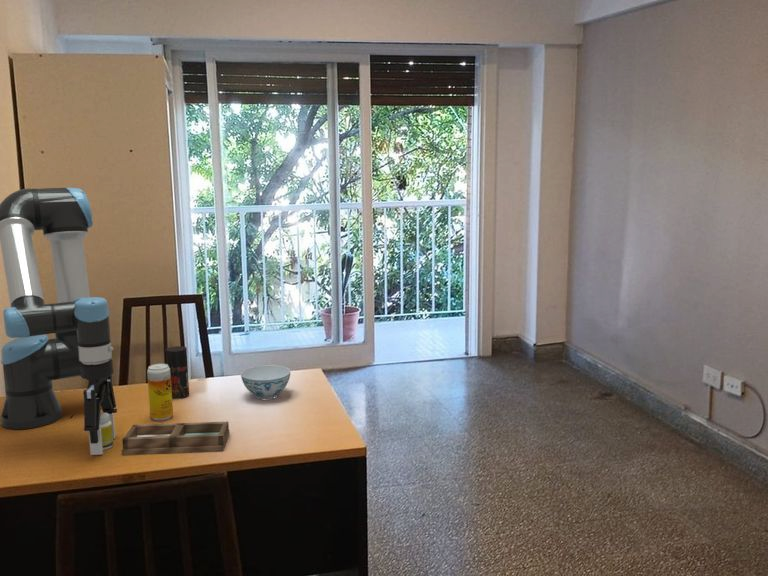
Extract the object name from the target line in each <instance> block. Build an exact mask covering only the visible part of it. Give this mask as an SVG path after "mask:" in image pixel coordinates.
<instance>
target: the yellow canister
mask: <svg viewBox="0 0 768 576" xmlns="http://www.w3.org/2000/svg"><path fill="white" fill-rule="evenodd" d="M146 372H147V373H146V374H147V375H146V376H147V387H148V404H149V416H150V418H151V419H152V420H153V421H156V422H158V421H159V422H162V421H166V420H169V419H171V418H172V416H173V414H174V408H173V399H172V390H171V375H170V368H169V366H168V365H167V363H155V364H151V365H149V366H148V368H147V371H146Z"/></svg>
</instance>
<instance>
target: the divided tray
mask: <svg viewBox="0 0 768 576" xmlns="http://www.w3.org/2000/svg"><path fill="white" fill-rule="evenodd" d="M229 428H230V427H229V421H209V422H205V421H204V422H182V423H181V422H180V423H179V422H177V423H176V422H175V423H152V424H151V423H150V424H149V423H146V424H133V425H132V426H130V428H129V430H127V432H126V434H125V435H124V437H123V438H122V450H121V451H122V452H121V453H122V456H129V455H130V454H131V456H132V454H135V455H155V454H156V455H157V454H158V453H161V454H181V453H182V454H183V453H184V454H185V453H204V452H205V453H206V452H207V453H210V452H224V450H225V447H226V444H227V441H228V438H229V436H230V429H229Z"/></svg>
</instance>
